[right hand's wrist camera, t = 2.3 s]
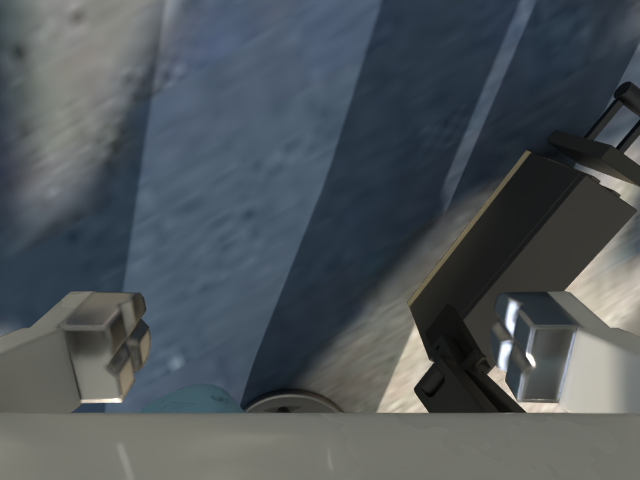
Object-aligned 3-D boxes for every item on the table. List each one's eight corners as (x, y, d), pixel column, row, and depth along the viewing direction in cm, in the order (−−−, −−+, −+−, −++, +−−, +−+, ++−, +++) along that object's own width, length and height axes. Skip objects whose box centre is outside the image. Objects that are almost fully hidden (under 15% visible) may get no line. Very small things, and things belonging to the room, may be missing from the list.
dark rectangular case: (526, 150, 43) (586, 174, 34) (568, 179, 44) (638, 210, 35) (407, 302, 50) (428, 360, 40) (446, 324, 51) (476, 386, 41)
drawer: (595, 78, 40) (665, 81, 32) (629, 104, 41) (706, 113, 33) (434, 282, 48) (457, 326, 39) (465, 300, 48) (495, 347, 40)
